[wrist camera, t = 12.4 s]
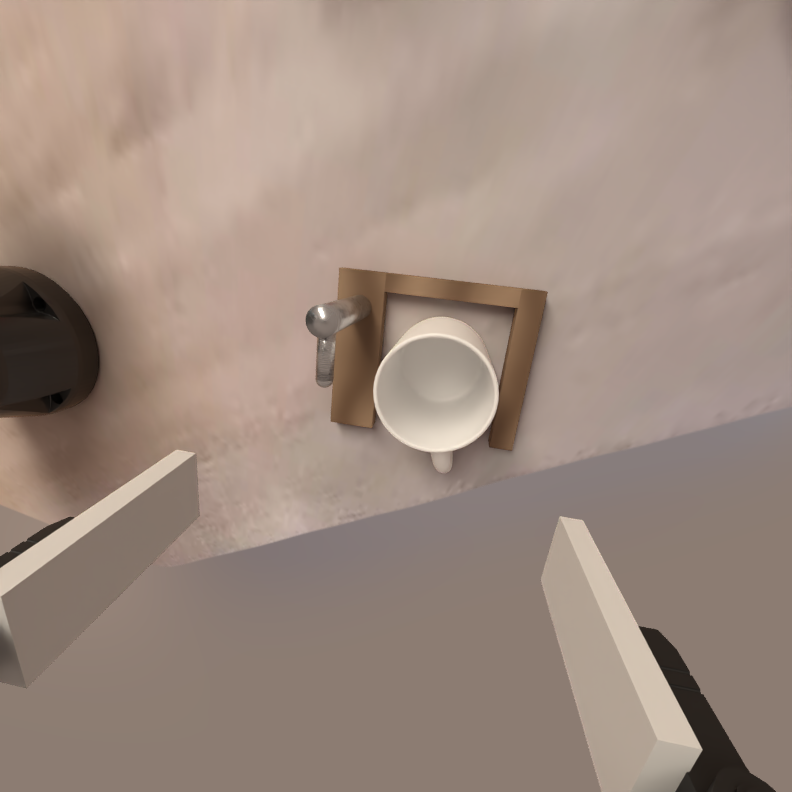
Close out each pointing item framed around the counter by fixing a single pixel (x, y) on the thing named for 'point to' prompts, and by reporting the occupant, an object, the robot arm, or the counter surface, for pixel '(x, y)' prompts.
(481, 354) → the mug
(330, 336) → the hook post
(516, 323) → the brown wooden u-shaped piece
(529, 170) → the counter surface
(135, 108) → the counter surface
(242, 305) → the counter surface
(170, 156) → the counter surface
